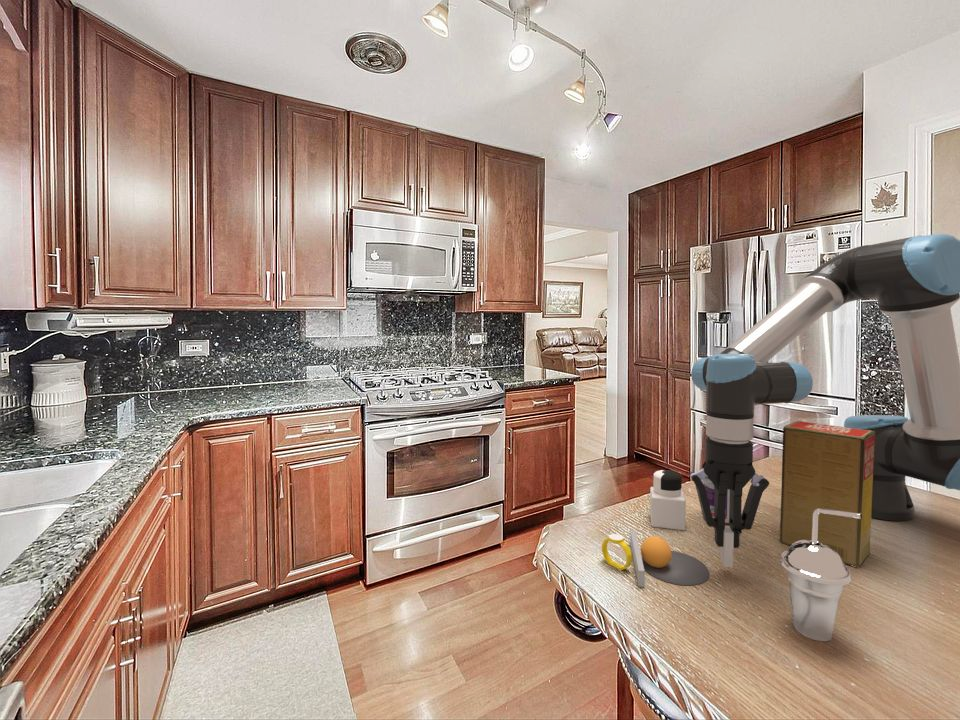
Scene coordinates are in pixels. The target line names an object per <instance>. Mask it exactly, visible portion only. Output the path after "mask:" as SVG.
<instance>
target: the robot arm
mask: <svg viewBox="0 0 960 720" xmlns="http://www.w3.org/2000/svg"><path fill="white" fill-rule="evenodd" d="M873 299H874V300H876V301H877V304H878V309H879V311H880V312H881V313H883V314H885V315H887V316H889V317H890V320H891V325H892V329H893V331H892V332H893V336H894V340H895V341H894V342H895V345H896V351H897V356H898V361H899V367H900V372H901V376H902V377H901V378H902V382H903V386H904V393H905V398H906V403H907V407H908V413H909V418H908V417H907V416H901V415H891V414H889V415H888V414H887V415H885V414H859V415H852V416H849V417H847V418H845V420H844V423H843V427H848V428H854V429H862V430H872V431H875V447H874V469H873V486H872V510H871V519H878V520H883V521H899V522H900V521H901V522H903V521H910V520H912V519H914V518H915V505H914V503H913V499H912V497H911V494H910V491H909V489H908V487H907V484H906V477H909V478H913V479H915V480H919V481H923V482H926V483H931V484H933V485H938V486H941V487H945V488H946V489H948V490H957V491H960V358H959V357H960V356H959V352H958V344H957V338H956V333H955V327H954V321H953V316H952V309H951V308H952V307H953V306H954V305H955V304H957V302H958V301H960V239H958V238H957V237H955V236H953V235H950V234H945V233H936V234H928V235H926V234H925V235H915V236H910V237H905V238H900V239H894V240H889V241H884V242H879V243H874V244H868V245H867V244H866V245H861V246H857V247H853V248H851V249H849V250H846V251H843V252H841V253H839V254H837V255H836V256H834V257H832V258H830V259H829V260H827V261H825V262H824V263H822V264H820V265H819V266H818V267H817V268H815V269H814V270H812V271H811V272H810V273H808V274H807V275H806V276H805V277H803V278H802V279H801V280H800V281H798V283H797V286H796V290H795V291H794V292H792V293H791V294H790V295H788V297H786V298H785V299H784V300H782V301H781V303H779V304H778V305H777V306H776V307H774V308H773V309H772V310H770V312H769V313H766V315H765V316H764V317H763V318H761V319H760V320H758V321H757V322H756V323H755V324H754V325H752V326H751V327H750V328H749V329H748V330H747V331H746V332H745V333H743V334H742V335H741V336H740V337H738V338H737V339H736V340H735V341H734V342H732V343H731V344H730V345H729V346H727V348H725V349H724V350H723V351H721V352H720V353H716V354H715V353H714V354H712V355H711V356H708V357H702V358H699V359H698V360H696V362H694V364H693V366H692V368H691V373H690V376H691V380H692V383H693V384H694V386H695V387H696V388H698V389H699V390H702V391H705V392H706V400H705V401H706V406H705V407H706V411H705V413H706V418H705V419H706V420H705V434H706V436H707V437H706V439H705V452H704V453H705V458H704V459H705V460H704V462H703V463H702V466H701V467H702V468H701V469H699V470H697V471H690V472H689V478H691V481H692V482H693V483H694V485H695V489H696V494H697V496H698V501H699V505H700V509H701V513H702V517H703V520H704V522H705V523H706V525H707V526H708V527H709V528H714V534H713V535H714V537H713V538H714V543H715V544H716V546H717V547H719V560H720V561H721V563H722V566H723V567H727V568H733V567H734V549H739V546H740V535H741V534H742V533H743V530H748V531H749V530H751V529H752V527H753V524H754V522H755V519H756V514H757V512H758V508H759V506H760V503H761V498H762V495H763V492H765V490H766V489H767V488H768V487H769V485H770V481H769V480H768V479H767V478H765V477H764V476H763V475H761V474H758V473H756V469H755V468H754V465H753V462H754V461H753V459H754V458H753V456H754V455H753V454H754V443H753V442H752V441H751V440H753V439H754V417H755V406H757V405H770V404H772V405H773V404H790V403H794V402H800V401H803V400H805V399H806V398H807V397H808V396H809V395H810V394H811V392H812V391H813V385H814V383H813V376H812V374H811V372H810V371H809V369H808V368H807V366H804V365H802V363H798V362H788V361H780V362H770V360H772V359H773V358H774V357H775V356H776V355H777V354H778V353H780V352H781V351H782V350H783V349H785V347H787V346H788V345H789V344H791V342H793V341H794V340H795V339H797V337H799V336H800V335H801V334H802V333H803V332H805V331H806V330H807V329H808V328H809V327H810V326H811V325H813V324H814V323H815V322H817V321H818V320H819V319H820V318H821V317H822V316H824V315H825V314H826V313H833V312H834V311H836V310H839V308H841V307H842V306H843V305H845V304H847V303H850V302H851V303H852V302H855V301H860V300H873ZM706 475H707V476H708V478H709V479H710V480H711V482H712V483H713V484H714V490H715V497H714V518H713V517H712V513H711V509H710V505H709V501H708V497H707V493H706V489H705V486H704V484H703V483H704V482H705V476H706ZM749 482H750V487H749V489H748V493H747V496H746V499H745V502H744V506H743V509H742V507H741V496H742V497H743V488H744V487H745V486H746V485H747V484H748V483H749ZM727 489H729V490H730V504H729V523H728V524H729V525H726V523H725V501H726V494H727Z"/></svg>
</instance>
